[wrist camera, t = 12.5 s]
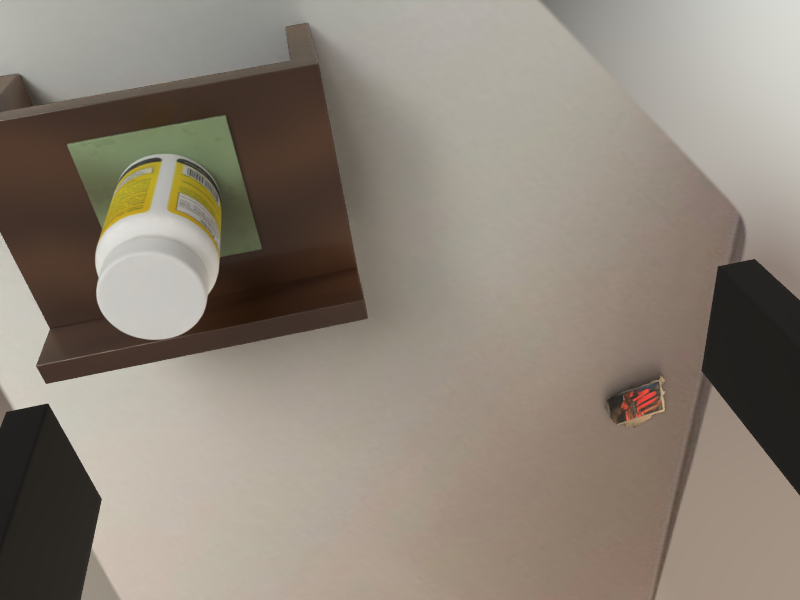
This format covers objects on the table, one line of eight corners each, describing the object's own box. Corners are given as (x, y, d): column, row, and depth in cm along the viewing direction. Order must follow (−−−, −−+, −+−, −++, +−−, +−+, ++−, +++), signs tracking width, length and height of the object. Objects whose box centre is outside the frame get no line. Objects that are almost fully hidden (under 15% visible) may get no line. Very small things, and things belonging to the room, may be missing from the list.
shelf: (-5, 76, 37) (-79, 158, 28) (307, 22, 38) (324, 85, 30) (84, 273, 44) (45, 384, 35) (346, 222, 45) (368, 319, 36)
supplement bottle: (115, 236, 35) (83, 344, 28) (116, 143, 32) (80, 236, 25) (219, 247, 36) (211, 352, 29) (227, 158, 33) (222, 251, 27)
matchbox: (599, 401, 57) (601, 405, 57) (657, 368, 56) (660, 372, 56) (621, 433, 60) (623, 437, 60) (677, 401, 59) (680, 405, 59)
